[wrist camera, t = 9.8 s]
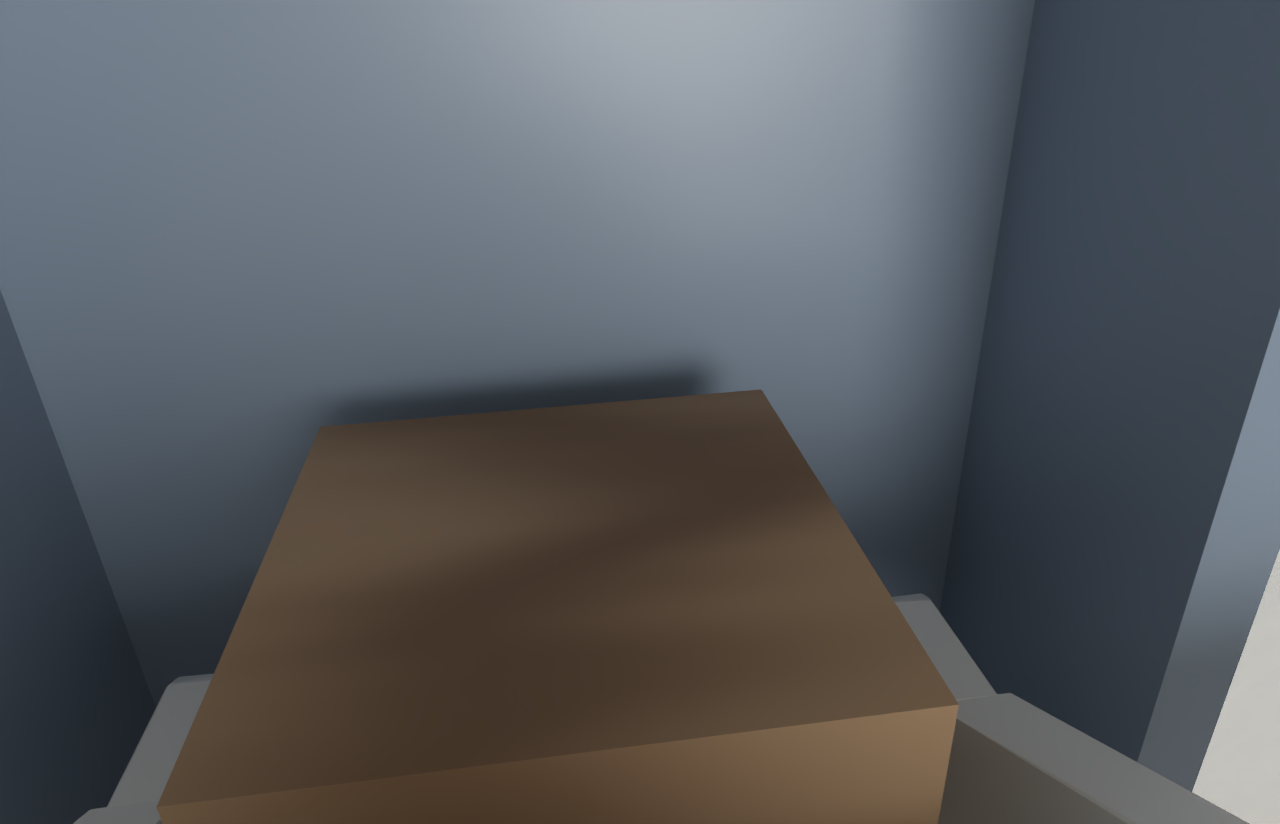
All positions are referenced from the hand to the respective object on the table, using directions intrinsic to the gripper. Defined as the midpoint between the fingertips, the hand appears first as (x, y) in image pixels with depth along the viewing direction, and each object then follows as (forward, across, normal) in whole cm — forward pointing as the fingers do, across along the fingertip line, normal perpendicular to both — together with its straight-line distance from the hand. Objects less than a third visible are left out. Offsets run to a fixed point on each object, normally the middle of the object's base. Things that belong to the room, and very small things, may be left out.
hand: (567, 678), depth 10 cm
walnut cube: (+2, 0, 0) cm, 2 cm away
